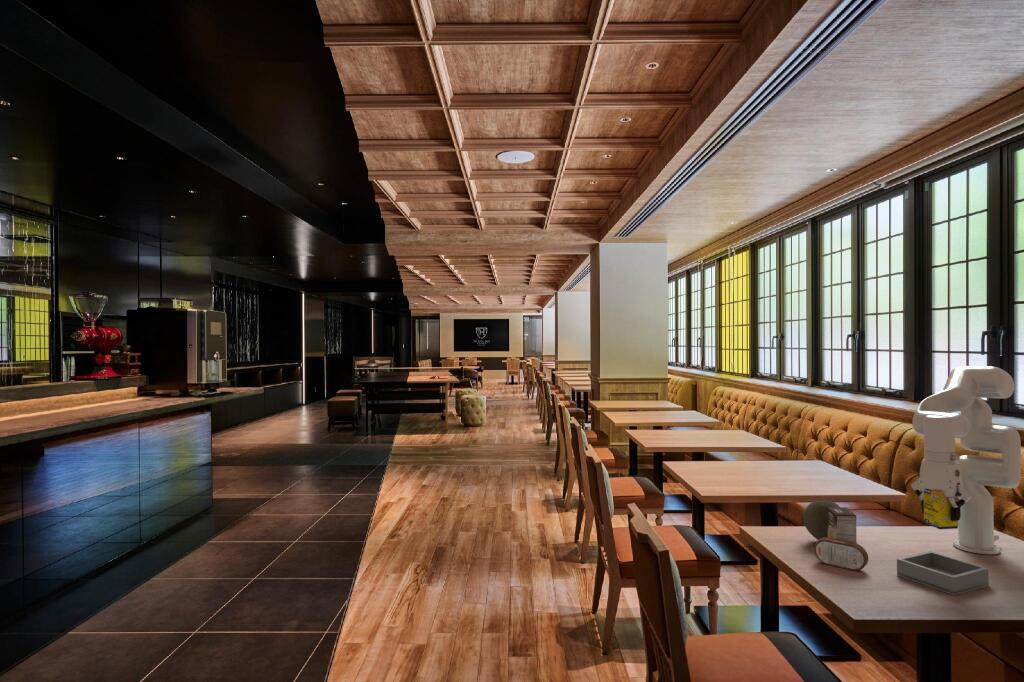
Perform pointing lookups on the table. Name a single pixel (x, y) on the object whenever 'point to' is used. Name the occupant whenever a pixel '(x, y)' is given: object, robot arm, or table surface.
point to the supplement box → (938, 510)
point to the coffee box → (841, 524)
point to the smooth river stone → (817, 518)
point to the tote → (943, 572)
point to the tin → (841, 553)
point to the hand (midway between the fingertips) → (940, 516)
